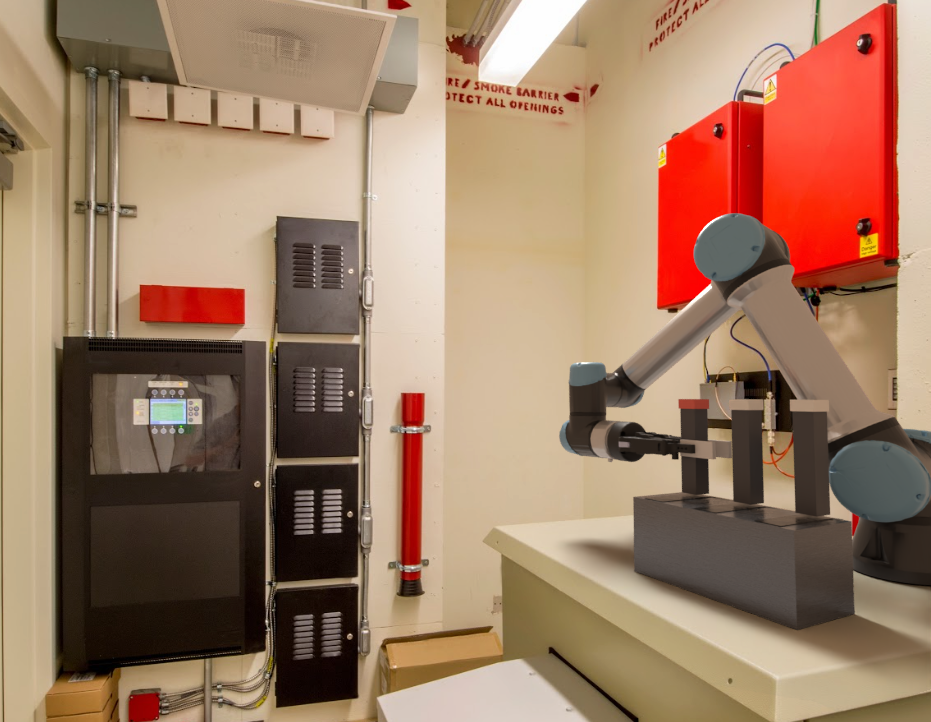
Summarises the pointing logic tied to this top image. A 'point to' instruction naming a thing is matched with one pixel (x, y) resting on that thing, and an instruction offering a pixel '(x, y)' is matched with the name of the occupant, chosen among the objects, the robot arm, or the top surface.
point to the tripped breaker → (697, 429)
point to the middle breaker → (747, 450)
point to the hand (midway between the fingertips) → (721, 450)
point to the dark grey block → (748, 556)
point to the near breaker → (811, 457)
